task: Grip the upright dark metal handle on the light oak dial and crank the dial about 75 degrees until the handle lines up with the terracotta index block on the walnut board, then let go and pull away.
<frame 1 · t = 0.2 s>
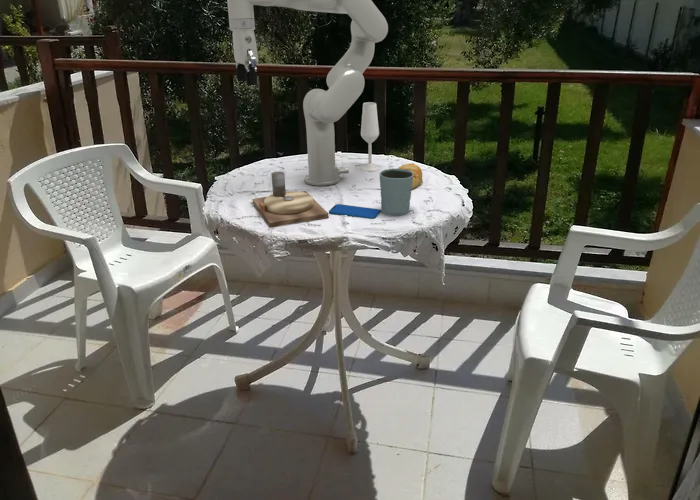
hand: (247, 82, 186), 36 cm above the table, tool pointing down, fingers open, 9 cm apart
smartphone: (355, 213, 182), on the table
champagne flute: (370, 168, 222), on the table
grey-green cup: (396, 211, 182), on the table
dial: (288, 191, 181), point 6 cm above the table, hinge at -75.0°
board: (289, 210, 184), on the table
croissant: (407, 184, 206), on the table
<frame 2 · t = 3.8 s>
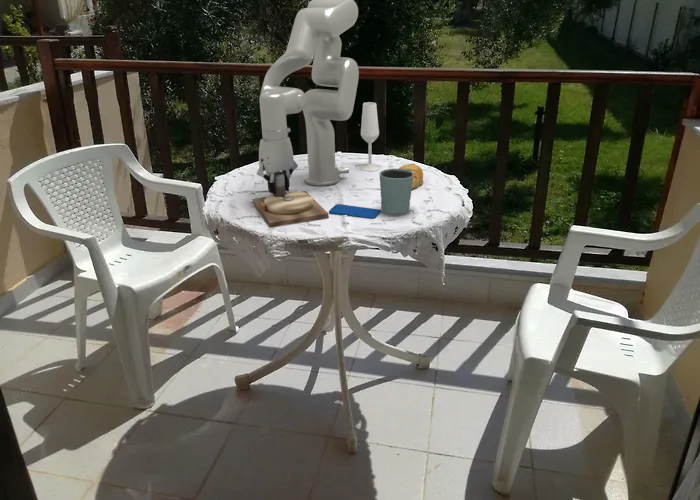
hand: (279, 191, 186), 5 cm above the table, tool pointing down, fingers closed on dial, 4 cm apart
dial: (288, 191, 181), point 6 cm above the table, hinge at -75.1°, touching gripper
everything else where it was.
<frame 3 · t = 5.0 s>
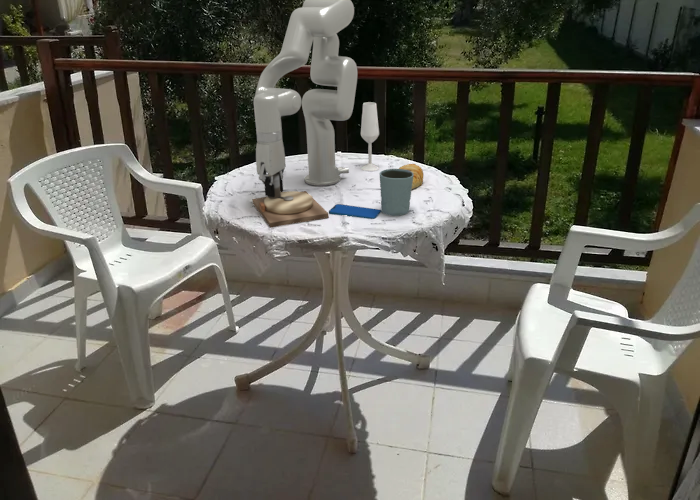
hand: (274, 193, 184), 5 cm above the table, tool pointing down, fingers closed on dial, 4 cm apart
dial: (288, 191, 181), point 6 cm above the table, hinge at -52.6°, touching gripper
everything else where it was.
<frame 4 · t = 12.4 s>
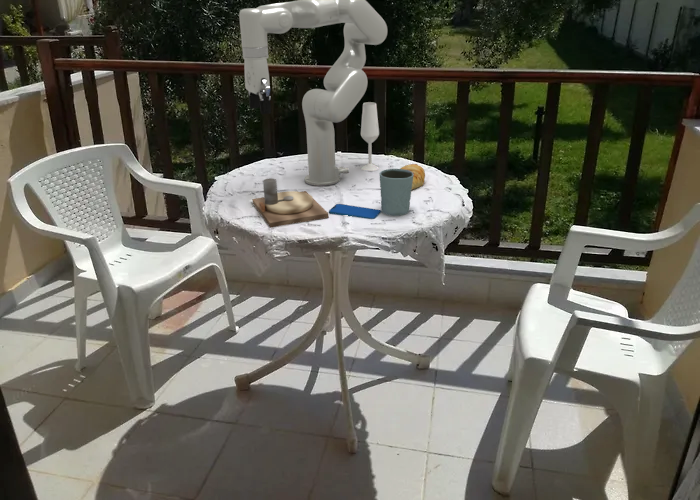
hand: (260, 110, 184), 28 cm above the table, tool pointing down, fingers open, 9 cm apart
dial: (288, 191, 181), point 6 cm above the table, hinge at 3.0°
at the end: dial at +3° (first picture: -75°); smartphone moved 0.6 cm from its start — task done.
